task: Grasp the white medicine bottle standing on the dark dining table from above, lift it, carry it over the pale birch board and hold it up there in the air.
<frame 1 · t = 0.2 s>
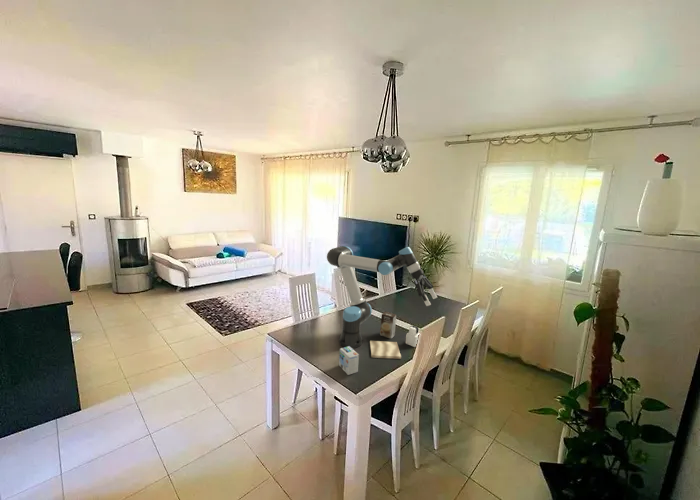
hand: (432, 301, 181), 35 cm above the table, tool tilted 35°, fingers open, 13 cm apart
light bulb box: (348, 369, 169), on the table
coffee box: (387, 335, 211), on the table
birch board: (384, 350, 190), on the table
medicine bottle: (412, 343, 201), on the table
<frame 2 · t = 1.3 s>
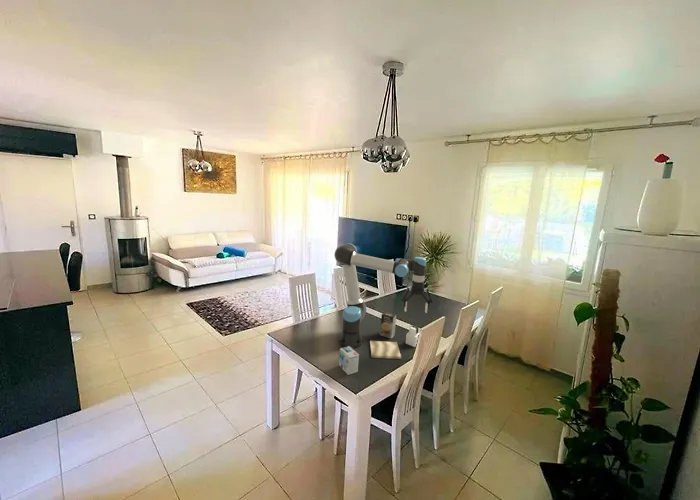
hand: (415, 311, 197), 23 cm above the table, tool pointing down, fingers open, 13 cm apart
nothing on the table moved.
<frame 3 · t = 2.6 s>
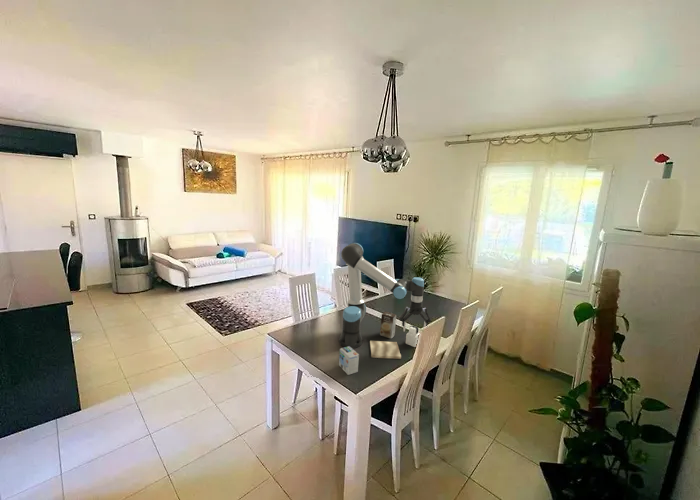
hand: (414, 331, 199), 9 cm above the table, tool pointing down, fingers open, 13 cm apart
nothing on the table moved.
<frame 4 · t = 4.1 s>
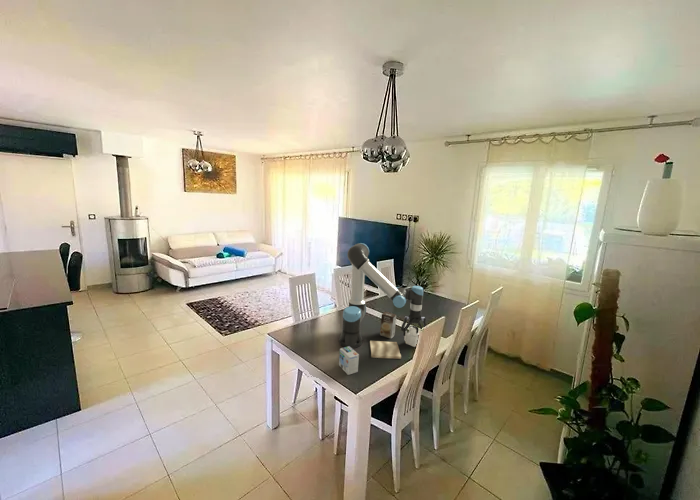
hand: (412, 340, 201), 2 cm above the table, tool pointing down, fingers closed on medicine bottle, 10 cm apart
medicine bottle: (412, 343, 201), on the table, touching gripper
everything else where it was.
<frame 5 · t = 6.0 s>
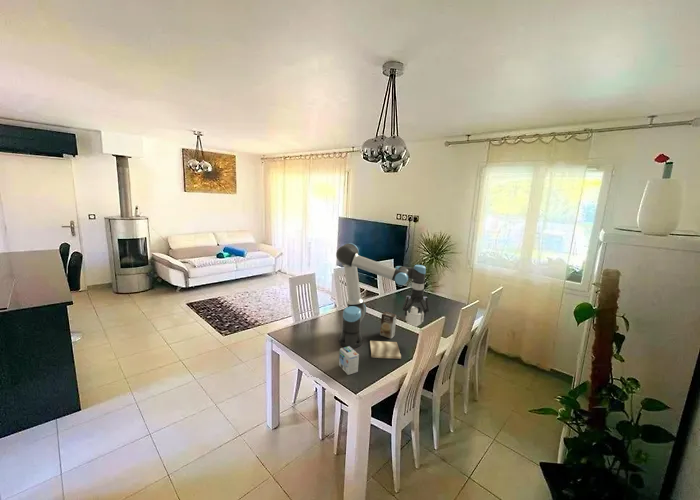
hand: (414, 320, 198), 16 cm above the table, tool pointing down, fingers closed on medicine bottle, 10 cm apart
medicine bottle: (413, 324, 199), point 14 cm above the table, touching gripper
everything else where it was.
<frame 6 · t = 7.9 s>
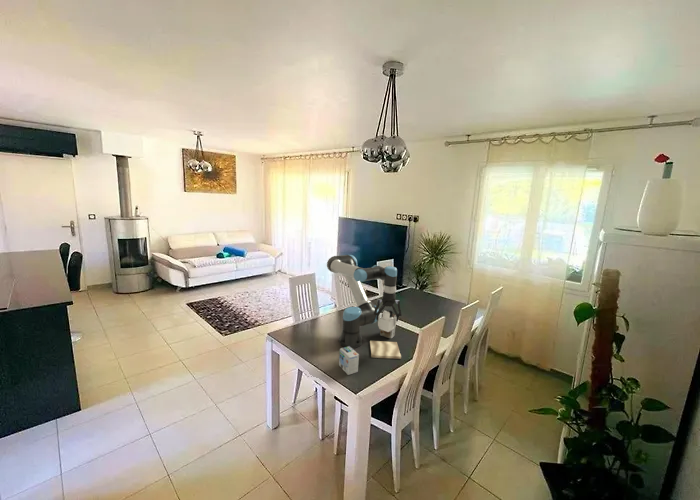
hand: (386, 325, 187), 17 cm above the table, tool pointing down, fingers closed on medicine bottle, 10 cm apart
medicine bottle: (386, 329, 188), point 15 cm above the table, touching gripper
everything else where it was.
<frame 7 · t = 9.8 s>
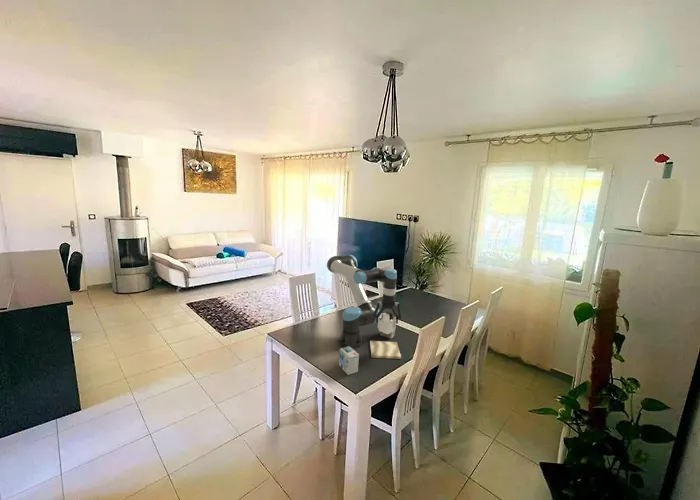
hand: (386, 327, 187), 16 cm above the table, tool pointing down, fingers closed on medicine bottle, 10 cm apart
medicine bottle: (386, 331, 188), point 13 cm above the table, touching gripper
everything else where it was.
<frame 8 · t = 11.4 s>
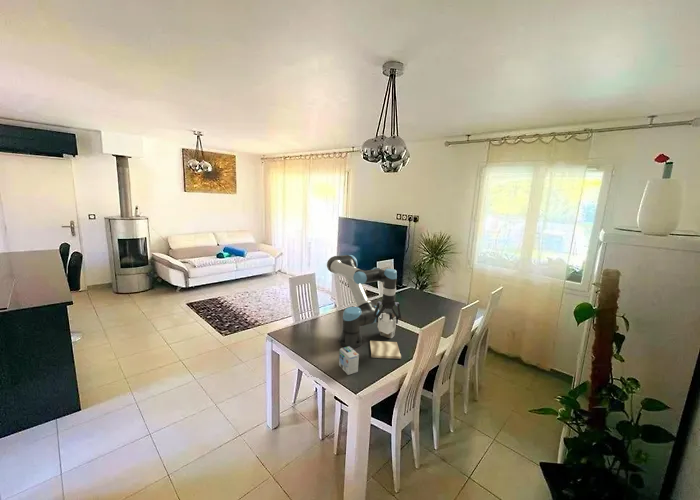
hand: (386, 327, 187), 16 cm above the table, tool pointing down, fingers closed on medicine bottle, 10 cm apart
medicine bottle: (386, 331, 188), point 13 cm above the table, touching gripper
everything else where it was.
at the end: the gripper is holding medicine bottle; medicine bottle inside the target area on the birch board (0.0 cm from its centre), point 13.2 cm above the birch board's base; medicine bottle tilted 0° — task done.
